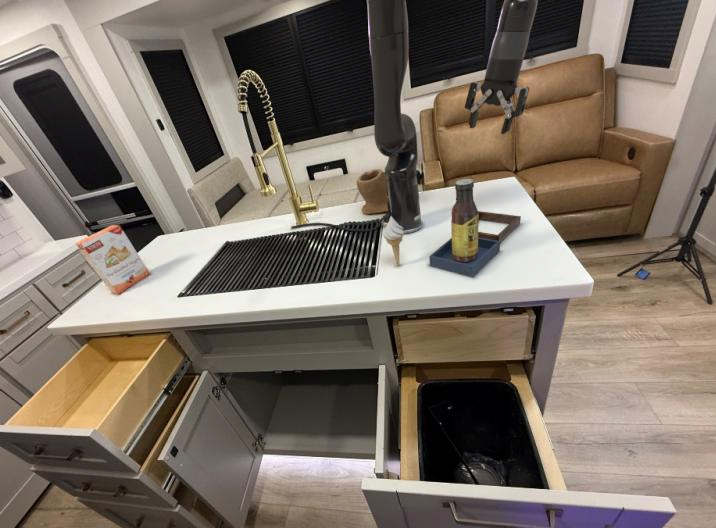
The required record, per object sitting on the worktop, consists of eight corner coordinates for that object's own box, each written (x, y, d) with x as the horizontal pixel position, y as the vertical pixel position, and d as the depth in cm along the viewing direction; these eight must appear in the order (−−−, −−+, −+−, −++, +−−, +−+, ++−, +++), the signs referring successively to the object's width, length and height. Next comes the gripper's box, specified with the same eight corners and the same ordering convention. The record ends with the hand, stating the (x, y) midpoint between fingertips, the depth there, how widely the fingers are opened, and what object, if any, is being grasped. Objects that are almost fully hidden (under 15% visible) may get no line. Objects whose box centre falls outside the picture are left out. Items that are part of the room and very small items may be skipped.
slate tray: (429, 266, 90) (429, 256, 89) (456, 243, 96) (456, 233, 95) (473, 277, 82) (473, 266, 80) (499, 251, 88) (500, 241, 86)
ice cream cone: (396, 258, 97) (388, 209, 89) (412, 262, 94) (406, 212, 85) (384, 268, 95) (375, 218, 86) (400, 273, 91) (393, 221, 82)
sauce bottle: (473, 265, 85) (472, 187, 74) (448, 261, 89) (444, 187, 77) (481, 252, 89) (482, 176, 77) (458, 249, 92) (455, 176, 81)
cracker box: (119, 295, 123) (81, 244, 111) (111, 292, 126) (73, 243, 114) (151, 273, 132) (119, 224, 120) (143, 272, 135) (111, 224, 123)
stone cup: (358, 219, 126) (349, 179, 118) (366, 206, 135) (359, 168, 126) (398, 216, 120) (392, 173, 112) (404, 202, 129) (399, 162, 120)
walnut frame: (455, 237, 99) (455, 229, 98) (478, 218, 105) (478, 210, 104) (498, 244, 91) (499, 236, 89) (520, 224, 96) (521, 216, 95)
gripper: (544, 55, 77) (520, 132, 88) (484, 51, 85) (468, 122, 96) (532, 59, 73) (508, 139, 84) (470, 55, 81) (455, 128, 91)
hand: (487, 130), depth 90 cm, fingers open, 8 cm apart
